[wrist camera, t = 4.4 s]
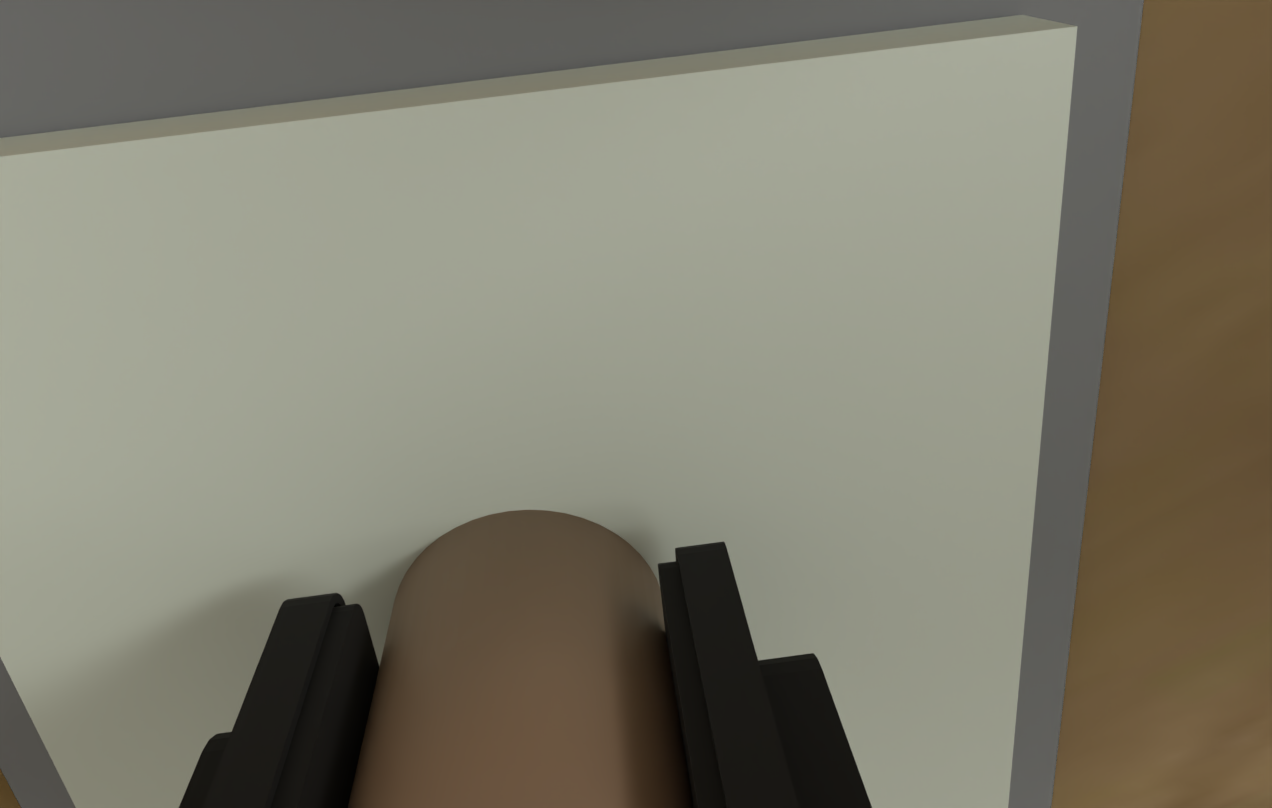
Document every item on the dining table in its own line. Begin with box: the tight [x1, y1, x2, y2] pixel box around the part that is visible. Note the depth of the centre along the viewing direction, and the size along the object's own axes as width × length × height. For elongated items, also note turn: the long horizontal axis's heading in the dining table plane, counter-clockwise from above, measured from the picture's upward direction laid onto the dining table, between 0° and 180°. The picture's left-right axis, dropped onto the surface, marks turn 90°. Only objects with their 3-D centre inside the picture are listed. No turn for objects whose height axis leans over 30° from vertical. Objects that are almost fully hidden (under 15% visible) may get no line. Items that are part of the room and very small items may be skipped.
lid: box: [0, 15, 1077, 808], centre depth 10 cm, size 12×12×7 cm
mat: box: [0, 0, 1144, 808], centre depth 13 cm, size 15×15×1 cm
